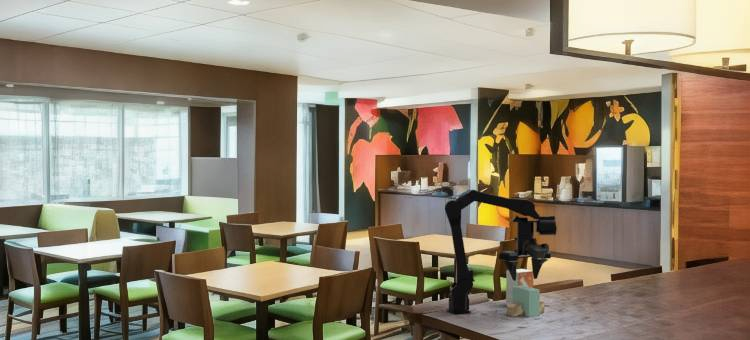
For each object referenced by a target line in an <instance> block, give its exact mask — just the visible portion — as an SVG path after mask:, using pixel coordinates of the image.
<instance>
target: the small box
mask: <svg viewBox="0 0 750 340" xmlns="http://www.w3.org/2000/svg"><path fill="white" fill-rule="evenodd" d="M505 277H506V278H505V279H506V284H505V285H506V286H505V287H506V288H505V291H506V292H505V305H506V306H507V303H512V299H513V286H522V285H523V286H527V287H531V288H534V276H533V270H530V269H527V268H518V269H517V268H516V281H513V279H512V277H511V274H510V272H509V270H508V269H507V270H506V275H505Z"/></svg>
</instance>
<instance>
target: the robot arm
mask: <svg viewBox="0 0 750 340" xmlns="http://www.w3.org/2000/svg"><path fill="white" fill-rule="evenodd" d="M474 202H477V203H482V204H485V205H486V204H487V205H491V206H496V207H499V208H504V209H507V210H510V211H512V212H514V213H517V214H519V215H521V216H518V215H517V214H516V215H514V217H513V218H512V219H511V222H513V223H516V237H515V236H514V241H516V248H515V249H514V251H512V250H503V251H502V250H501V251H500V252H499V254H498V259H499V260H501V261H502V262H503V263H504V264H505V266H506V268H507V270H509V272H510V274H511V277H512V279H513V281H516V269H517V266H518V265H519V261H518V260H519V259H524V258H525V259H527V258H530V261H531V268H532V270H531V271H533V280H534V279H535V280H537V279H538V276H539V273H540V270H541V268H542V266H543V264H545V262H548V261H549V259H552V254H551V251H550V245H549V244H548V243H541V244H538V241H537V238H535V237H534V235H535V233H538V236H556V235H557V229H558V227H557V222H556V216H554V215H548V216H547V215H542V216H540V214H539V213H538V212H537V211H536V206H535V203H534V202H533V201H532V200H530V199H527V198H514V197H513V198H511V197H505V196H499V195H496V194H491V193H487V192H483V191H480V190H479V191H478V190H476V189H470V190H469V191H467V192H466V193H465V194H462V195H461V196H459V197H458V198H455V199H449V200H447V201H446V203H445V204H444V211H445V215H446V217H447V221H448V223H449V225H450V226H449V227H450V231H451V237H452V243H453V251H454V256H455V266H456V267H455V268H456V269H455V281H454V282H453V283H452V284H451V285H450V286H449V289H450V293H449V294H448V308H447V309H446V311H447V312H449V313H451V314H455V315H460V314H461V315H463V314H468V313H471V312H472V311H471V310H470V297H469V294H468V292H469V291H471V290H472V289H473V286H474V283H475V282H476V281H475V278H474V269H473V267H468V266H469V265H468V263H467V257H466V256H467V255H466V251H465V244H464V236H463V231H462V230H463V229H462V210H464V209H465V208H467V207H468V206H470V205H471V204H472V203H474ZM528 217H530V218H531V219H528ZM532 219H533V220H532ZM534 232H535V233H534Z"/></svg>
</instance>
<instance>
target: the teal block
mask: <svg viewBox="0 0 750 340" xmlns="http://www.w3.org/2000/svg"><path fill="white" fill-rule="evenodd" d="M540 293H541V291H540V289H538V288H535V287H533V288H531V287H527V286H523V285H522V286H513V299H512V303H513V302H517V303H521V304H522V309H524V310H525V315H524V316H525V317H528V318H533V317H540V313H539V303H540V300H541V299H540V297H541V296H540Z"/></svg>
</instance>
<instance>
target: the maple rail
mask: <svg viewBox="0 0 750 340" xmlns="http://www.w3.org/2000/svg"><path fill="white" fill-rule="evenodd" d="M544 313H545V300H541V299H540V303H539V314H544ZM507 314H508V315H507ZM506 315H507V316H509V315H511V316H510V317H519V316H518V315H521V316H525V310H524V309H522V304H521V303H517V302H513V303H507V305H506Z"/></svg>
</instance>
